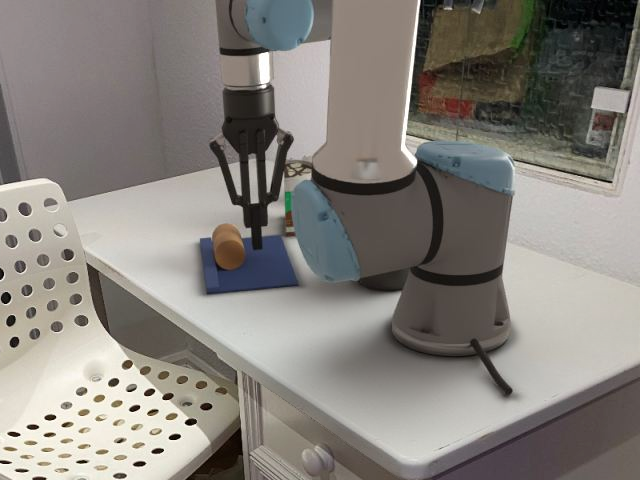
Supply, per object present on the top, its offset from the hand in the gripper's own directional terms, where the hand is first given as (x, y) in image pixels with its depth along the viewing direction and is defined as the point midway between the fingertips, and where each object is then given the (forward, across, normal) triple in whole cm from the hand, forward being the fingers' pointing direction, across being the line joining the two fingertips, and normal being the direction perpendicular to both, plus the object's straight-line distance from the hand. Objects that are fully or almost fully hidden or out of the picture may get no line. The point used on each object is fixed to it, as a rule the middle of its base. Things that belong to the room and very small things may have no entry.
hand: (257, 246), depth 132 cm
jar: (+2, -18, +13) cm, 23 cm away
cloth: (+2, +2, +1) cm, 3 cm away
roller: (0, +5, 0) cm, 5 cm away
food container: (+2, -10, -14) cm, 17 cm away
